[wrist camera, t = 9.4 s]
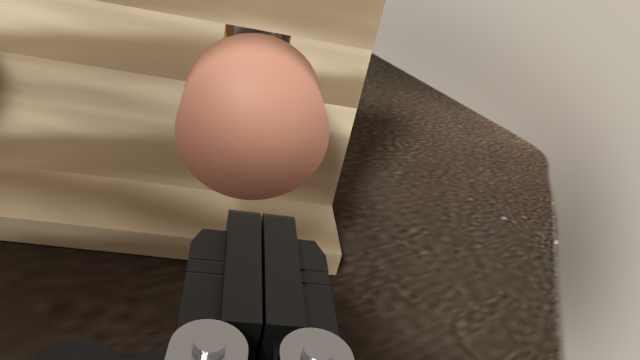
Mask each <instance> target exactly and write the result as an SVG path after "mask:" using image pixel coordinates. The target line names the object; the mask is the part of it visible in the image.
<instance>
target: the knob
mask: <svg viewBox="0 0 640 360" xmlns="http://www.w3.org/2000/svg"><path fill="white" fill-rule="evenodd" d="M226 36H227V37H226V38H224V39H221V40H219V41H217V42H216V43H214V44H212V45H211V46H209V47H208V48H207V49H206V50H205V51H203V52H202V54H201V55H200V56H199V57H198V58H197V59H196V61H195V62H194V64H193V65H192V67H191V69H190V71H189V74H188V77H187V80H186V83H185V87H184V90H183V94H182V97H181V101H180V104H179V107H178V111H177V114H176V120H175V140H176V145H177V148H178V152H179V154H180V156H181V159H182V160H183V162H184V164H185V165H186V167H187V168H188V170H189V171H190V172H191V173H192V175H193V176H195V177H196V178H197V179H198V180H199V181H200V182H201V183H203V184H204V185H205V186H207V187H208V188H210V189H212V190H214V191H215V192H218V193H220V194H222V195H225V196H228V197H232V198H236V199H242V200H263V199H270V198H274V197H278V196H281V195H283V194H286V193H288V192H290V191H292V190H294V189H296V188H297V187H299V186H300V185H302V184H303V183H304V182H305V181H307V180H308V179H309V178H310V177H311V176H312V175H313V173H314V172H315V171H316V170H317V168H318V167H319V165H320V164H321V162H322V160H323V158H324V156H325V153H326V150H327V147H328V141H329V122H328V117H327V113H326V109H325V105H324V101H323V97H322V93H321V89H320V85H319V82H318V78H317V76H316V73H315V71H314V69H313V67H312V66H311V64H310V62H309V61H308V60H307V59H306V57H305V56H304V55H303V54H302V53H301V52H300V51H299V50H298V49H296V48H295V47H294V46H292V45H291V44H289V43H287V42H286V41H284V40H282V39H281V38H282V34H279V33H273V32H268V31H262V30H257V29H251V28H246V27H240V26H235V25H229V24H226Z"/></svg>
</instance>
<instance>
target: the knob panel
mask: <svg viewBox="0 0 640 360" xmlns="http://www.w3.org/2000/svg"><path fill="white" fill-rule="evenodd" d="M384 3H385V0H0V240H2V241H11V242H21V243H30V244H40V245H50V246H59V247H69V248H78V249H88V250H98V251H107V252H117V253H126V254H136V255H146V256H155V257H165V258H174V259H184V260H188V256H189V250H190V244H191V241H192V240H193V239H194V238H195V237H196V235H197V234H198V233H199V232H200V231H201V230H202V229H212V230H221V231H225V230H226V224H227V217H228V211H229V209H232V210H240V211H248V212H257V213H261V217H262V214H263V213H266V214H275V215H283V216H292V217H295V223H296V232H297V239H303V240H312V241H315V242H316V243H317V245H318V246H319V247H320V249H321V250H322V251H323V253H324V254H325V255H326V259H327V265H328V271H329V272H328V275H336V273H337V270H338V266H339V263H340V259H341V256H342V253H341V248H340V243H339V238H338V233H337V228H336V224H335V219H334V214H333V209H332V203H333V199H334V196H335V192H336V188H337V184H338V180H339V176H340V173H341V169H342V165H343V161H344V157H345V153H346V149H347V146H348V142H349V138H350V134H351V130H352V126H353V122H354V119H355V115H356V111H357V107H358V103H359V99H360V96H361V92H362V88H363V84H364V80H365V76H366V72H367V69H368V65H369V61H370V57H371V53H372V49H373V45H374V42H375V38H376V34H377V30H378V26H379V22H380V18H381V15H382V11H383V7H384ZM226 24H229V25H235V26H240V27H246V28H251V29H257V30H262V31H268V32H273V33H279V34H285V37H284V41H286V42H287V43H289V44H291V45H292V46H294V47H295V48H296V49H298V50H299V51H300V52H301V53H302V54H303V55H304V56H305V57H306V59H307V60H308V61H309V62H310V64H311V66H312V67H313V69H314V71H315V73H316V76H317V78H318V82H319V85H320V89H321V93H322V97H323V101H324V105H325V109H326V113H327V117H328V122H329V141H328V147H327V150H326V153H325V156H324V158H323V160H322V162H321V164H320V165H319V167H318V168H317V170H316V171H315V172H314V173H313V175H312V176H311V177H310V178H309V179H308V180H307V181H305V182H304V183H303V184H302V185H300V186H299V187H297V188H296V189H294V190H292V191H290V192H288V193H286V194H283V195H281V196H278V197H274V198H270V199H263V200H242V199H236V198H232V197H228V196H225V195H222V194H220V193H218V192H215V191H214V190H212V189H210V188H208V187H207V186H205V185H204V184H203V183H201V182H200V181H199V180H198V179H197V178H196V177H195V176H193V175H192V173H191V172H190V171H189V170H188V168H187V167H186V165H185V164H184V162H183V160H182V159H181V156H180V154H179V152H178V148H177V145H176V140H175V120H176V114H177V111H178V107H179V104H180V101H181V97H182V94H183V90H184V87H185V83H186V80H187V77H188V74H189V71H190V69H191V67H192V65H193V64H194V62H195V61H196V59H197V58H198V57H199V56H200V55H201V54H202V52H203V51H205V50H206V49H207V48H208V47H209V46H211V45H212V44H214V43H216V42H217V41H219V40H221V39H224V37H225V29H226Z"/></svg>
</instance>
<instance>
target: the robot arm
mask: <svg viewBox="0 0 640 360" xmlns="http://www.w3.org/2000/svg"><path fill="white" fill-rule="evenodd" d="M328 272H329V271H328V265H327V259H326V255H325V254H324V253H323V251H322V250H321V249H320V247H319V246H318V245H317V243H316V242H315V241H312V240H303V239H297V232H296V223H295V217H292V216H283V215H275V214H266V213H263V214H262V217H261V213H257V212H248V211H240V210H232V209H229V211H228V217H227V224H226V230H225V231H221V230H212V229H202V230H201V231H200V232H199V233H198V234H197V235H196V237H195V238H194V239H193V240H192V241H191V244H190V250H189V256H188V263H187V269H186V275H185V281H184V287H183V293H182V299H181V305H180V312H179V318H178V323H177V327H176V329H175V331H174V333H173V334H172V336H171V337H170V338H169V339H168V340H167V341H166V342H165V343H163V344H162V345H160V346H159V347H157V348H155V349H153V350H150V351H148V352H145V353H141V354H136V355H131V356H125V357H119V356H118V354H117V353H116V351H114V350H113V349H112V348H111V347H109V346H108V345H106V344H104V343H102V342H99V341H95V340H89V339H76V340H69V341H65V342H61V343H59V344H56V345H54V346H52V347H50V348H48V349H46V350H45V351H43V352H41V353H40V354H38V355H36V356H35V357H33V358H32V359H30V360H355V359H354V356H353V353H352V351H351V349H350V348H349V346H348V345H347V344H346V343H345V341H343V340H342V339H341V338H340V336H339V330H338V324H337V318H336V313H335V307H334V301H333V295H332V289H331V288H330V287H331V283H330V277H329V275H328Z"/></svg>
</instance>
